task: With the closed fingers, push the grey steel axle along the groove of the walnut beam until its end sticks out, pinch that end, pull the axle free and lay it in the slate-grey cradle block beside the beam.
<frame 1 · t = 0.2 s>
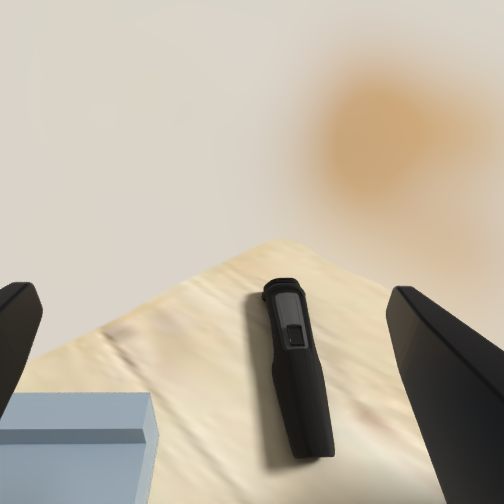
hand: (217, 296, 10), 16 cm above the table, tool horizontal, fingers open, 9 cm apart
electric trimmer: (294, 363, 28), on the table
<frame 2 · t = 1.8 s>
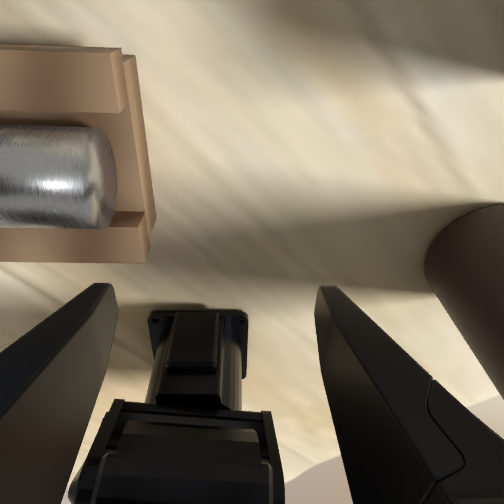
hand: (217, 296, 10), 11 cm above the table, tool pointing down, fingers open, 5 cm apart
bottle: (477, 250, 23), on the table
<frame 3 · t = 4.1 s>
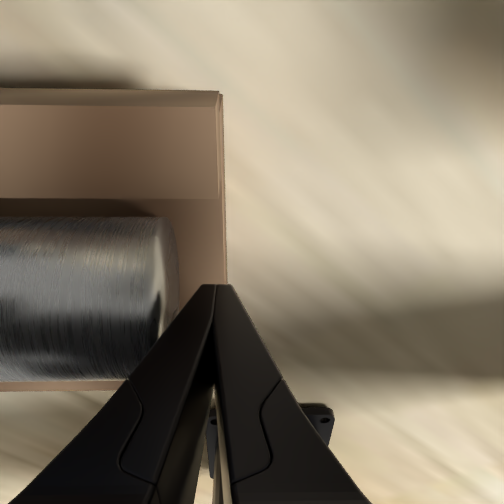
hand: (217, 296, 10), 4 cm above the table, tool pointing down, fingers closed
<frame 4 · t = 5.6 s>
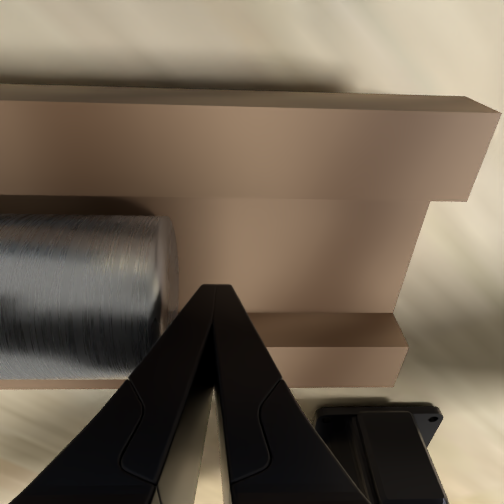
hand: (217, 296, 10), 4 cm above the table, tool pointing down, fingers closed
beam: (158, 217, 13), on the table
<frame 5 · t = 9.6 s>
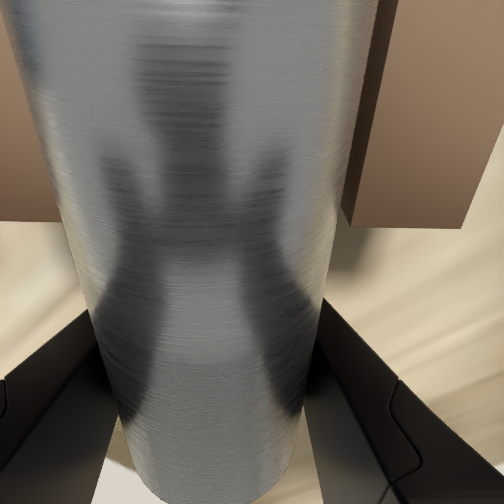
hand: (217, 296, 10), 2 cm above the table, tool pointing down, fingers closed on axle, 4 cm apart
axle: (210, 96, 7), point 2 cm above the table, touching beam, gripper
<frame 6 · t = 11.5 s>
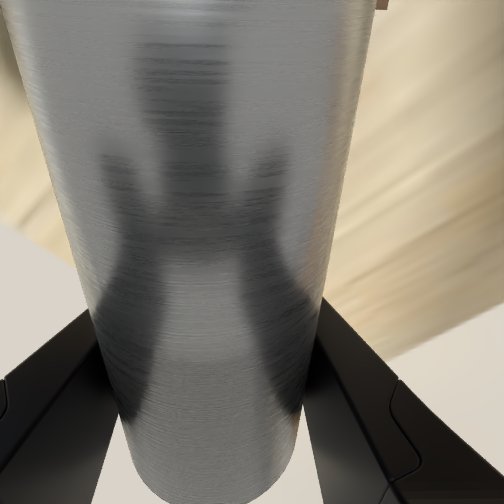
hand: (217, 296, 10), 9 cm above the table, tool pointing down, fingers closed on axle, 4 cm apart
axle: (210, 96, 7), point 9 cm above the table, touching gripper
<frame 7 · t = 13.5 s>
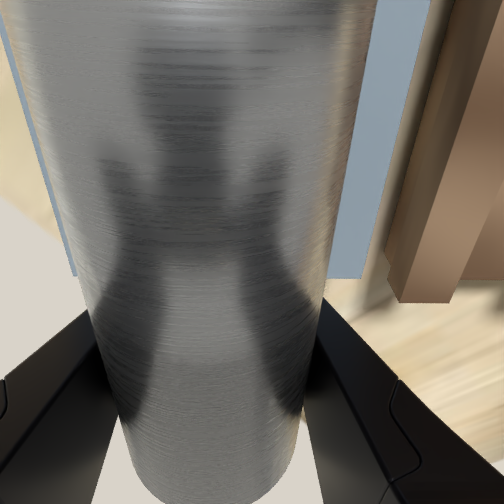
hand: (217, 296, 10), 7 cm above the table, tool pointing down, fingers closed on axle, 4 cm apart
cradle: (222, 58, 13), on the table
axle: (210, 98, 7), point 7 cm above the table, touching gripper
when the fingers open (5 cm above the table, at t = 14.1 s): axle drops 2 cm, resting on cradle.
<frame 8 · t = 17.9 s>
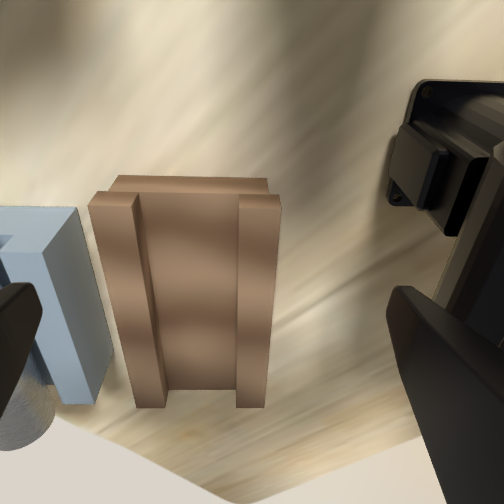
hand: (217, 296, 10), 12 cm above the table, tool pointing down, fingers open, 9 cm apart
cradle: (23, 287, 25), on the table
beam: (200, 289, 25), on the table
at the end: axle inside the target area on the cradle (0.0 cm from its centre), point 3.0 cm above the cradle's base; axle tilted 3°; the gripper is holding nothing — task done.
